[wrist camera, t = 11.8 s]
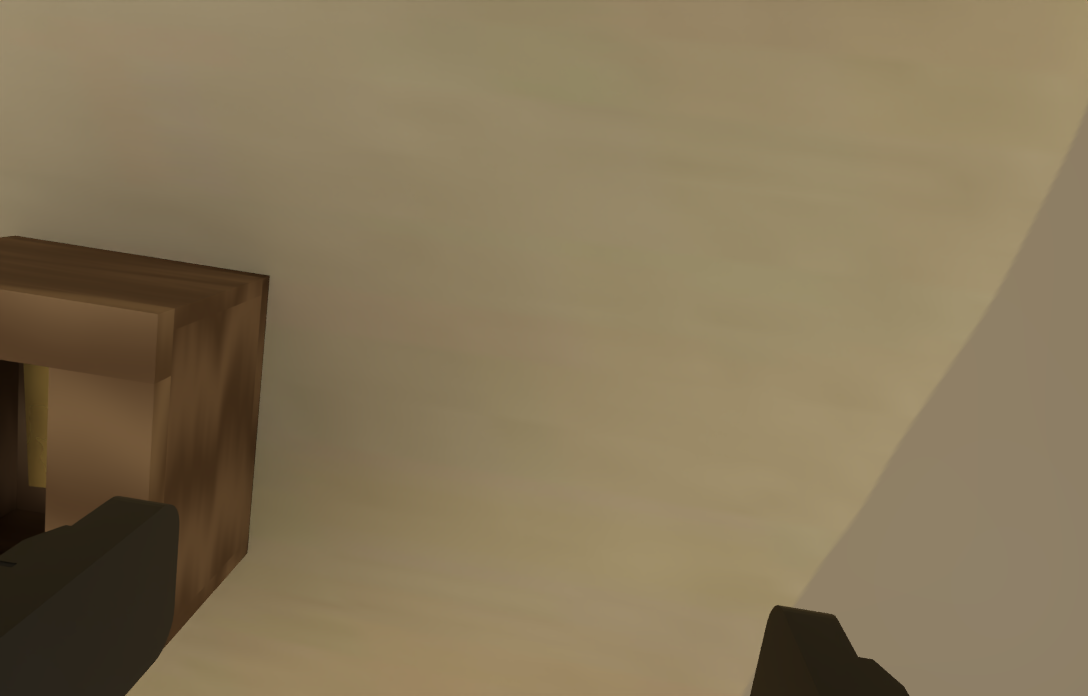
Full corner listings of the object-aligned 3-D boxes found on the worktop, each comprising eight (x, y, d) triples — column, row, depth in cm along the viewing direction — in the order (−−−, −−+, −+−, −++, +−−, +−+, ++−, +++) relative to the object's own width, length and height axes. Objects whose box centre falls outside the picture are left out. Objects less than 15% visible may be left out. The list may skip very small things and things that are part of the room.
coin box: (15, 235, 39) (-184, 260, 29) (269, 275, 39) (158, 314, 29) (11, 514, 42) (-171, 624, 32) (247, 552, 42) (139, 675, 32)
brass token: (107, 315, 39) (22, 342, 33) (160, 321, 39) (85, 348, 33) (109, 439, 40) (28, 486, 34) (161, 444, 40) (88, 492, 34)
